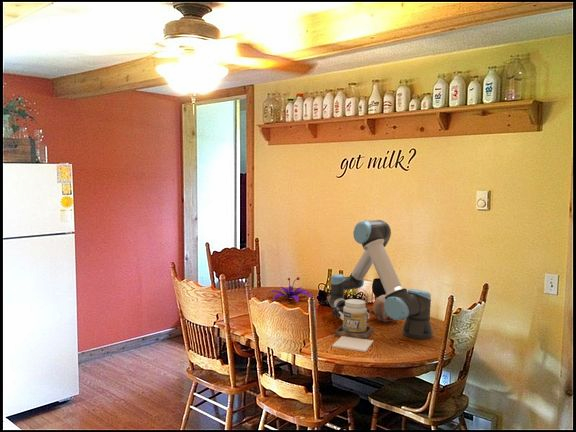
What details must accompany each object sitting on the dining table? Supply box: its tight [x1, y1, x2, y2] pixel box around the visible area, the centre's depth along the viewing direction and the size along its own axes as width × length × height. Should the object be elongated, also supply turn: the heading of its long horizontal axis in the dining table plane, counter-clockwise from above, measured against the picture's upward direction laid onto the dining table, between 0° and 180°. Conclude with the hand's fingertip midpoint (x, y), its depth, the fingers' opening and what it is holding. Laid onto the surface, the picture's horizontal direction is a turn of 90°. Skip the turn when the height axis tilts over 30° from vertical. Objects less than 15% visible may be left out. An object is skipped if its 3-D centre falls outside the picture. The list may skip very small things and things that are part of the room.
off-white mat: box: [331, 336, 374, 353], centre depth 249 cm, size 16×16×1 cm
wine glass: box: [370, 277, 386, 315], centre depth 309 cm, size 10×10×20 cm
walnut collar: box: [334, 323, 374, 340], centre depth 266 cm, size 16×16×2 cm
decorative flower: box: [267, 276, 313, 303], centre depth 337 cm, size 28×31×15 cm
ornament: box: [372, 295, 395, 323], centre depth 291 cm, size 15×15×15 cm
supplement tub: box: [342, 298, 368, 335], centre depth 266 cm, size 12×12×17 cm
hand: (356, 316), depth 264 cm, fingers open, 13 cm apart
